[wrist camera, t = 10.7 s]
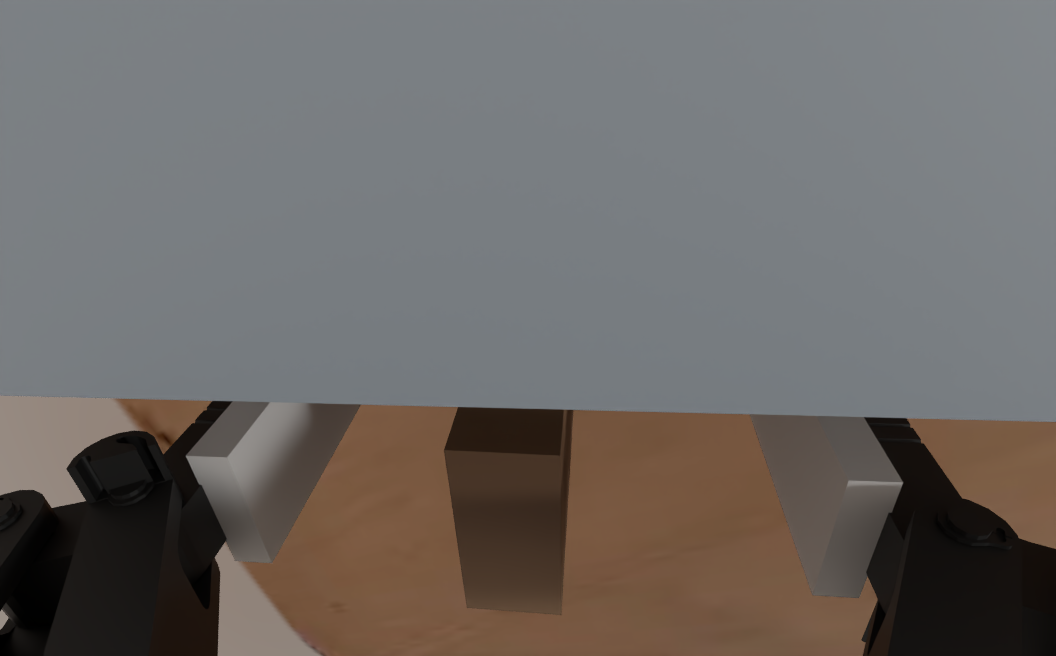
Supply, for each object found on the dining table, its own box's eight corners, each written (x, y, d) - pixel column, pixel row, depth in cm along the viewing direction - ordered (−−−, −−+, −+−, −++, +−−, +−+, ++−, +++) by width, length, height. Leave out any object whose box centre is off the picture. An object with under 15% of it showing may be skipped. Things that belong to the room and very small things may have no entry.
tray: (665, 320, 21) (727, 644, 11) (448, 315, 22) (317, 611, 12) (727, -306, 13) (1240, -1438, 3) (378, -275, 14) (-278, -1029, 3)
